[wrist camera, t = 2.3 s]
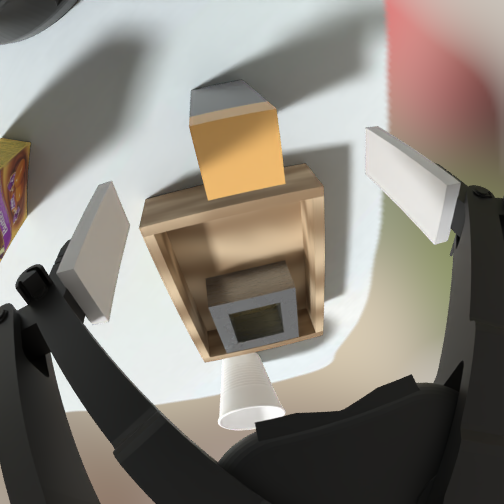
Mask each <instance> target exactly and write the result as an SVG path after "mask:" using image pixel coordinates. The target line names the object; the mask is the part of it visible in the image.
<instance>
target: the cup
mask: <svg viewBox="0 0 504 504" xmlns="http://www.w3.org/2000/svg"><path fill="white" fill-rule="evenodd" d="M221 378H222V379H221V399H220V418H219V419H218V424H219V425H220V426H221V427H223V428H226V429H231V430H250V429H256V427H255V422H260V421H264V420H269V419H273V418H278V417H282V416H284V415H285V409H284V408H283V407H282V405H281V403H280V401H279V399H278V397H277V394H276V392H275V390H274V388H273V386H272V384H271V382H270V379H269V377H268V375H267V372H266V370H265V368H264V365H263V363H262V361H261V359H260V356H259V355H258V354H257V353H256V352H254V353H249V354H244V355H240V356H235V357H230V358H225V359H223V361H222V377H221Z"/></svg>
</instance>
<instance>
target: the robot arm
mask: <svg viewBox="0 0 504 504" xmlns="http://www.w3.org/2000/svg"><path fill="white" fill-rule="evenodd" d="M77 1H78V0H0V45H3V44H9V43H15V42H19V41H22V40H25V39H28V38H30V37H32V36H34V35H36V34H38V33H40V32H42V31H43V30H45V29H46V28H48V27H49V26H51V25H52V24H53V23H55V22H56V21H57V20H59V19H60V18H61V17H62V16H63V15H64V14H65V13H66V12H67V11H68V10H69V9H70V8H71V7H72V6H73V5H74V4H75V3H76V2H77ZM365 174H366V175H367V176H368V177H369V178H370V179H371V180H372V181H373V182H374V183H375V184H376V185H377V186H379V187H380V188H381V189H382V190H383V191H384V192H385V193H386V194H387V195H388V196H389V197H390V198H391V199H392V200H393V201H394V202H395V203H396V204H397V205H398V206H399V207H400V208H401V209H402V210H403V211H404V212H405V213H406V215H407V216H408V217H409V218H410V219H411V220H412V221H413V222H414V223H415V224H416V225H417V226H418V227H419V228H420V229H421V231H422V232H423V233H424V234H425V235H426V236H427V237H428V238H429V239H430V240H431V242H432V243H433V244H434V245H435V244H438V243H441V242H445V241H448V237H449V233H450V229H452V230H453V231H454V232H455V233H456V236H455V239H454V243H453V246H452V250H451V253H450V256H452V255H453V269H452V282H451V292H450V302H449V310H448V318H447V324H446V331H445V337H444V343H443V348H442V354H441V359H440V364H439V369H438V373H437V376H436V378H435V381H434V383H416V382H415V380H414V378H413V376H412V375H409V376H406V377H404V378H402V379H399V380H396V381H394V382H391V383H389V384H386V385H383V386H381V387H378V388H376V389H375V390H373V391H372V392H371V393H369V394H367V395H366V396H364V397H363V398H361V399H360V400H359V401H357V402H355V403H353V404H352V405H350V406H349V407H347V408H345V409H344V410H341V411H333V412H316V413H315V412H314V413H295V414H290V415H286V416H282V417H278V418H273V419H269V420H264V421H260V422H255V427H256V432H254V433H252V434H250V435H248V436H247V437H245V438H243V439H242V440H240V441H239V442H238V443H236V444H235V445H234V446H232V447H231V448H230V449H229V450H228V451H227V452H226V453H225V454H224V456H223V457H222V458H221V459H220V460H219V462H217V461H216V460H214V459H213V458H212V457H211V456H209V455H208V454H207V453H206V452H205V451H203V450H202V449H201V448H200V447H199V446H197V445H196V444H195V443H194V442H193V441H192V440H190V439H189V438H188V437H187V436H186V435H185V434H184V433H183V432H182V431H180V430H179V429H178V428H177V427H176V426H175V425H174V424H173V423H172V422H171V421H170V420H169V419H168V418H167V417H166V416H164V414H163V413H161V412H160V411H159V410H158V409H157V408H156V407H155V406H154V405H153V404H152V403H151V401H150V400H149V399H148V398H147V397H146V396H145V395H144V394H143V393H142V392H141V391H140V390H139V389H138V388H137V387H136V386H135V385H134V384H133V383H132V381H131V380H130V379H129V378H128V377H127V376H126V375H125V374H124V373H123V371H122V370H121V369H120V368H119V367H118V366H117V365H116V363H115V362H114V361H113V360H112V359H111V358H110V356H109V355H108V354H107V353H106V352H105V350H104V349H103V348H102V347H101V345H100V344H99V343H98V342H97V341H96V339H95V338H94V337H93V335H92V334H91V333H90V332H89V330H88V329H87V328H86V326H85V325H84V324H83V322H84V318H85V316H86V317H87V318H88V320H89V321H90V322H91V324H92V325H96V324H101V323H107V322H109V319H110V313H111V308H112V303H113V297H114V292H115V287H116V283H117V278H118V273H119V269H120V264H121V260H122V256H123V252H124V248H125V244H126V240H127V236H128V232H129V228H130V224H129V221H128V219H127V217H126V214H125V212H124V210H123V207H122V205H121V202H120V200H119V197H118V195H117V192H116V190H115V187H114V185H113V182H112V181H110V182H107V183H104V184H101V185H98V187H97V189H96V191H95V193H94V195H93V196H92V198H91V200H90V202H89V204H88V206H87V208H86V210H85V212H84V214H83V216H82V218H81V220H80V222H79V224H78V226H77V228H76V230H75V232H74V234H73V236H72V238H71V240H68V241H67V242H66V243H65V245H64V246H63V247H62V248H61V250H60V252H59V254H58V256H57V257H58V258H57V259H56V261H55V265H53V268H52V270H51V272H50V275H48V274H47V272H46V271H45V269H44V267H43V266H42V265H40V264H36V265H33V266H31V267H29V268H28V269H26V270H25V271H24V272H23V273H22V274H21V275H20V277H19V278H18V279H17V282H16V284H15V285H16V289H17V291H18V292H19V293H20V295H21V296H22V297H23V299H24V300H25V301H26V303H27V304H28V305H27V306H25V307H23V308H21V309H20V310H18V311H17V310H16V309H15V308H14V306H13V305H12V304H10V303H8V304H4V305H2V306H1V307H0V464H1V469H2V473H3V478H4V481H5V485H6V489H7V493H8V496H9V500H10V503H11V504H100V502H99V499H98V497H97V495H96V493H95V491H94V489H93V486H92V484H91V482H90V480H89V477H88V475H87V473H86V470H85V468H84V465H83V463H82V460H81V458H80V455H79V452H78V450H77V447H76V444H75V441H74V439H73V436H72V433H71V430H70V427H69V423H68V420H67V418H66V414H65V410H64V407H63V403H62V400H61V396H60V392H59V389H58V385H57V381H56V376H55V372H54V368H53V363H52V358H51V353H52V354H53V356H54V358H55V360H56V362H57V363H58V365H59V367H60V369H61V370H62V372H63V374H64V375H65V377H66V379H67V380H68V382H69V384H70V385H71V387H72V388H73V390H74V392H75V393H76V395H77V396H78V398H79V399H80V401H81V402H82V404H83V405H84V407H85V408H86V410H87V411H88V413H89V414H90V416H91V417H92V418H93V420H94V421H95V423H96V424H97V425H98V427H99V428H100V429H101V431H102V432H103V433H104V435H105V436H106V437H107V439H108V440H109V441H110V443H111V444H112V445H113V447H114V449H115V450H114V452H113V454H114V456H115V458H116V459H117V461H118V462H119V463H120V465H121V466H122V467H123V468H124V469H125V471H126V472H127V473H128V474H129V475H130V476H131V478H132V479H133V480H134V481H135V482H136V483H137V484H138V485H139V487H140V488H141V489H142V490H143V491H144V492H145V493H146V494H147V495H148V496H149V497H150V498H151V499H152V500H153V501H154V502H155V503H156V504H504V197H503V198H495V197H494V195H493V194H492V193H491V192H490V191H489V190H487V189H485V188H483V187H480V186H475V185H472V186H469V187H468V186H467V185H465V184H464V183H463V182H462V181H460V180H459V179H458V178H456V177H455V176H454V175H452V174H451V173H450V172H449V171H446V169H444V168H443V167H442V166H440V165H439V164H436V163H434V162H432V161H431V160H429V159H428V158H426V157H425V156H423V155H422V154H420V153H419V152H417V151H416V150H415V149H413V148H412V147H410V146H408V145H407V144H405V143H404V142H402V141H400V140H399V139H398V138H396V137H394V136H393V135H391V134H390V133H388V132H386V131H385V130H383V129H381V128H380V127H378V126H376V127H366V155H365ZM50 352H51V353H50Z"/></svg>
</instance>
